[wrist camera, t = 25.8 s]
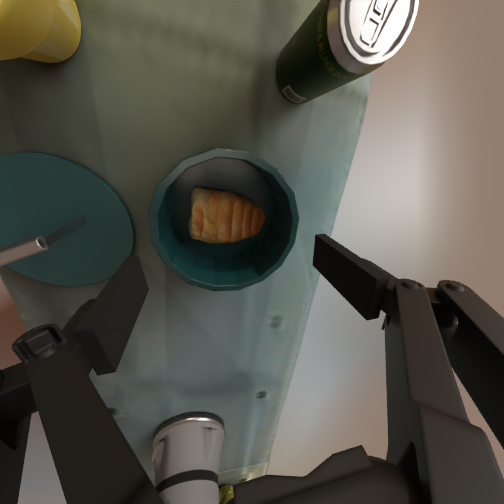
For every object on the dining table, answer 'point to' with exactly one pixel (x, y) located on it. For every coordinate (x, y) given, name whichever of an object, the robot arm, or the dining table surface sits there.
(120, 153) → the dining table surface
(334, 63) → the beer can
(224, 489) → the fruit
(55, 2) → the flower pot
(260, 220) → the pastry
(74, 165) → the lid
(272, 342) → the dining table surface
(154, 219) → the pot
